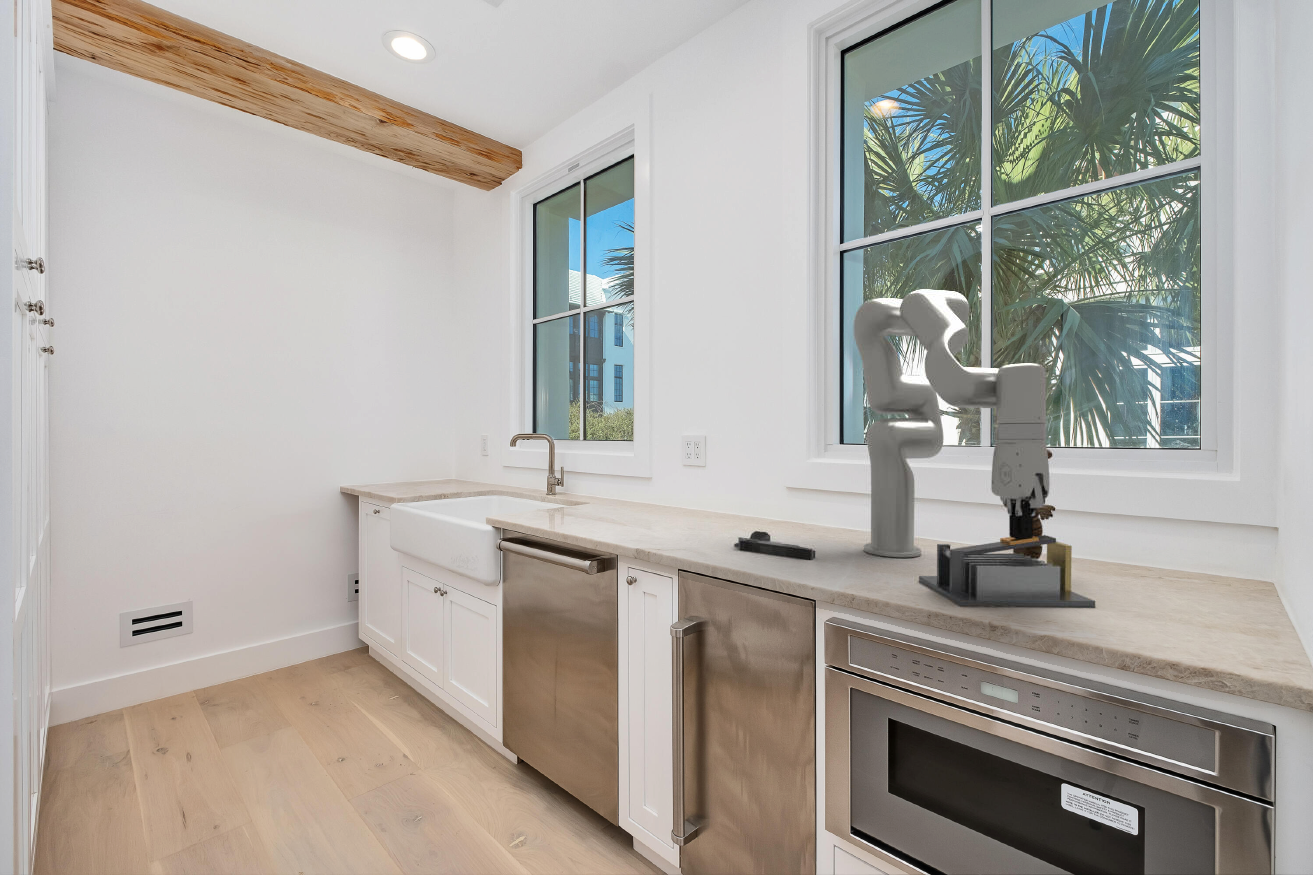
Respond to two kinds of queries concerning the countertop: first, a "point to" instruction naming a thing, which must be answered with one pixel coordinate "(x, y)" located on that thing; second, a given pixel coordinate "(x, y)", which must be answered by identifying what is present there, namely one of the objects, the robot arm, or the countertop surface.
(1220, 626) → the countertop surface
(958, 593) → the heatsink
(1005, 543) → the dark grey lever
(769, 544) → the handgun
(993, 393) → the robot arm
